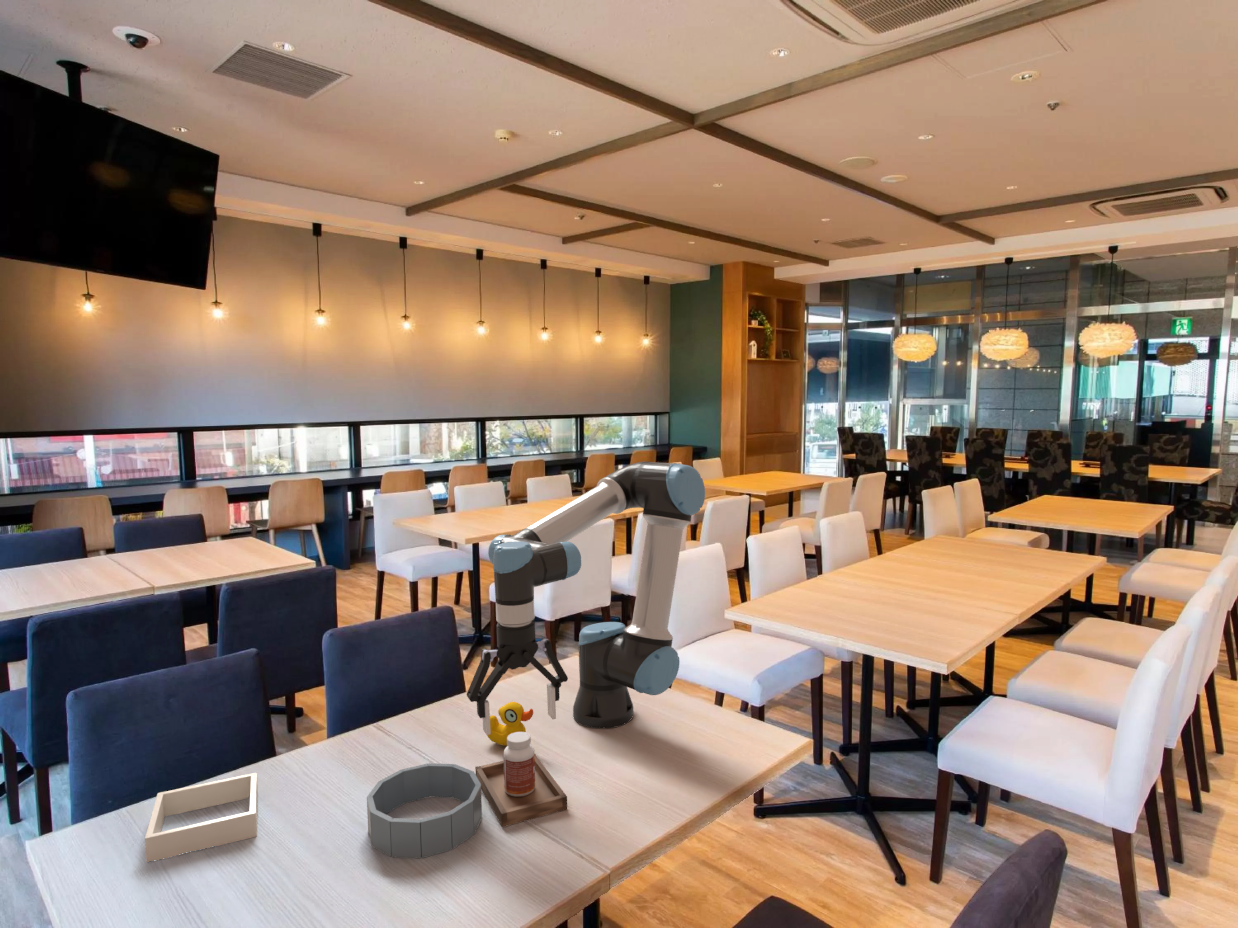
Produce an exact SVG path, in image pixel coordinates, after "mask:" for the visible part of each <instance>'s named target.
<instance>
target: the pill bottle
mask: <svg viewBox="0 0 1238 928" xmlns="http://www.w3.org/2000/svg"><path fill="white" fill-rule="evenodd" d="M531 741H532V739H531V735H530V733H528V732H515V733H512V734H510V735H508V737H507V746H505V748H504V750H503V761H504V787H505V792H506V793H507V794H508V795H511V796H515V797H522V796H526V795H528V794H530V793H532V792H533V791H534V789H535V755H536V753H535V747H534V746H533V745H532V744H531Z"/></svg>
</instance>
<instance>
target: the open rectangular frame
mask: <svg viewBox="0 0 1238 928" xmlns="http://www.w3.org/2000/svg"><path fill="white" fill-rule="evenodd" d="M246 799H249V811H246V812H241V813H237V814H233V815H229V816H224V817H220V818H215V819H211V820H206V821H202V822H198V823H194V824H190V825H185V826H180V827H175V828H170V829H168V830H162V828H163V824H164V821H165V817H169V816H174V815H179V814H183V813H189V812H191V811H197V810H200V809H206V808H211V807H215V806H218V805H219V806H220V805H223V804H229V803H232V802H236V801H242V800H246ZM258 805H259V790H258V772H252V773H246V774H242V775H238V776H233V777H228V778H223V779H219V780H214V781H208V782H205V783H200V784H195V785H190V786H185V787H180V788H176V789H172V790H171V789H170V790H168V791H167V790H164V791H160V792H157V794H156V797H155V802H154V804H153V808H152V813H151V815H150V816H151V817H150V820H149V823H148V827H147V830H146V832H145V833H146V834H145V835H144V836H145V837H144V846H145V857H146V858H145V859H146V863H147V862H149V861H154V860H158V861H160V860H159V859H162V860H164V859H163V858H166V859H169V858H168V857H170V858H172V857H171V856H174V857H177V856H176V855H178V856H180V855H179V854H182V853H186V852H190V851H195V850H199V851H201V850H200V849H203V850H206V849H205V848H207V849H210V847H211V848H213V847H212V846H215V847H220V846H222V845H226V844H230V843H236V842H239V841H243V840H247V839H251V838H255V837H258V808H259V807H258ZM195 852H196V851H195ZM190 853H191V852H190ZM186 854H187V853H186ZM182 855H183V854H182ZM154 862H155V861H154ZM149 863H150V862H149Z"/></svg>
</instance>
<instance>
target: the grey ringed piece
mask: <svg viewBox="0 0 1238 928" xmlns="http://www.w3.org/2000/svg"><path fill="white" fill-rule="evenodd" d="M426 798H445V799H446V798H447V799H449V798H451V799H454V800H458V801H459V802H461V804H459V805H457V806H456V807H454V808H452V809H451V810H449V811H447V812H443V813H440V814H436V815H433V816H432V815H431V816H428V817H427V816H426V817H424V818H421V819H420V818H397V817H395V818H394V817H392V816H390V815H388V813H390V812H392V811H394V810H395V809H397V808H398V807H400V806H402V805H404V804H407V803H410V802H411V803H412V802H415V801H419V800H423V799H426ZM482 803H483V802H482V790H481V783H480V782H479V780H478V778H477V776H476V772H475V771H473V770H471V769H468V768H465V767H463V766H461V765H458V764H455V763H430V762H429V763H425V764H419V765H415V766H411V767H406V768H402V769H399V770H398V771H395V772H393V773H391V774H390V775H388V776H386V777H384V778H383V779H380V780H379V781H378V782H376V784H375V786H374V787H373V788H372V789H371V791H370V792H369V793H368V794H367V796H366V810H367V813H366V814H367V833H368V835H369V840H370V845H371V847H372V848H374V849H376V850H378V851H379V852H381V853H383V854H384V855H387V856H388V857H391V858H402V859H403V858H406V859H409V858H410V859H411V858H412V859H425V858H427V857H431V856H434V855H437V854H441V853H442V854H443V853H445V852H449V851H452V850H454V849H455V848H457V847H458V846H460V845H461V844H462V843H465V841H467V840H469V838H471V837H473V836H474V835H475V834H476V832H477V829H478V827H479V825H480V823H481V820H482V819H483V810H482V809H483V806H482Z"/></svg>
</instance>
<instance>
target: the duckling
mask: <svg viewBox="0 0 1238 928" xmlns="http://www.w3.org/2000/svg"><path fill="white" fill-rule="evenodd" d="M497 713H498V716H499V718H500V720H501V721H502V723H503V724H501V723H500V722H499V720H498V717H497V716H496V715H493V714H492V715H490V732H491V734H490V735H486V736H487V738H488V739H489V740H490V741H491V742H493V743H495V744H497V745H499V746H504V747H507V737H508V735H510V734H512V733H515V732H526V731H527V730H526V729H527V728H526V727H525V724H523V722H528V721H530V719H532V717H533V714H534V709H533V708H530V709H529V710H527V711H525V709H524V707H523V705H522V704H520V703H519V702H516V701H510V702H507V703H505V704H504V705H502V706H501V707H499V708H498V711H497ZM526 733H527V732H526Z"/></svg>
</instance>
